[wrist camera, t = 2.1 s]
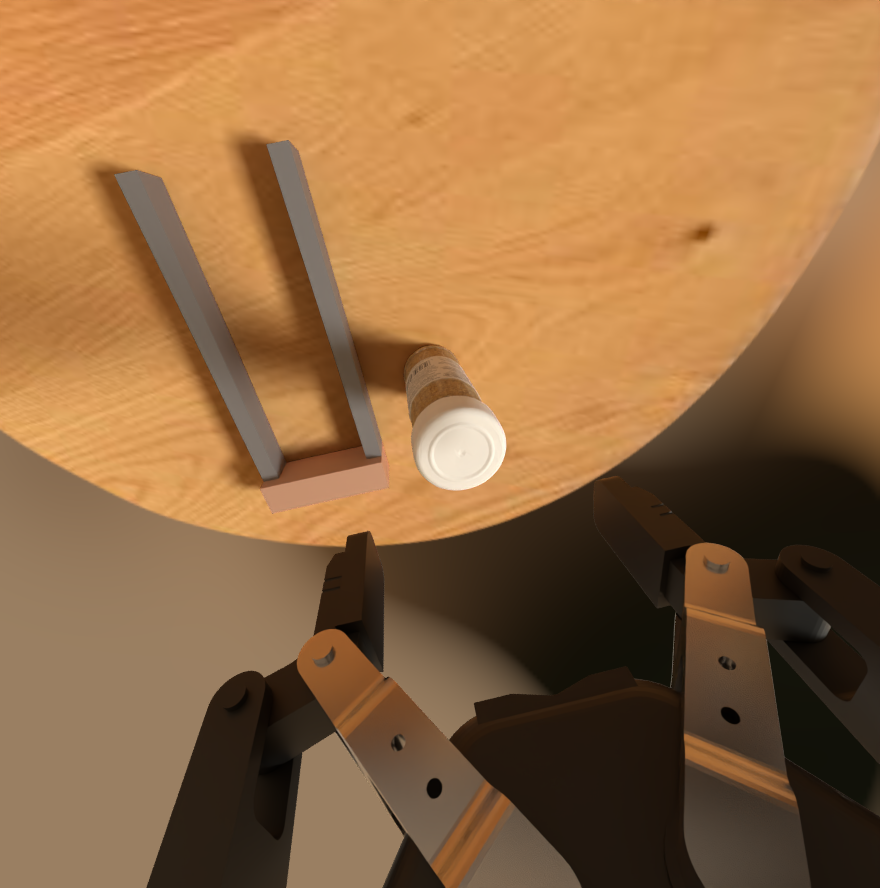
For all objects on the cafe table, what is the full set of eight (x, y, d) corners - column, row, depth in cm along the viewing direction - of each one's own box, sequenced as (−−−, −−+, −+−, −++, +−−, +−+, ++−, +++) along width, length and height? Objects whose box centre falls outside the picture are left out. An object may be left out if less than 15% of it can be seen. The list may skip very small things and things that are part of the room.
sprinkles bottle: (423, 409, 31) (445, 509, 19) (391, 364, 29) (393, 443, 17) (471, 379, 30) (524, 463, 18) (441, 330, 28) (480, 390, 16)
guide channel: (141, 181, 22) (101, 170, 19) (298, 150, 22) (284, 135, 19) (283, 488, 33) (272, 513, 30) (388, 465, 33) (388, 487, 30)
